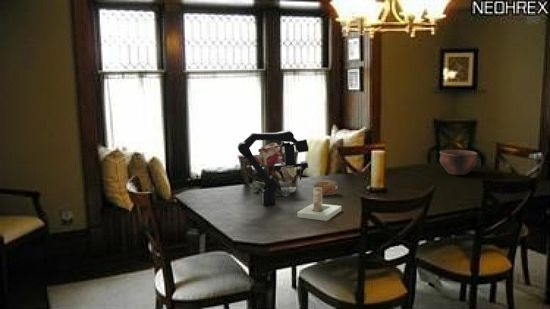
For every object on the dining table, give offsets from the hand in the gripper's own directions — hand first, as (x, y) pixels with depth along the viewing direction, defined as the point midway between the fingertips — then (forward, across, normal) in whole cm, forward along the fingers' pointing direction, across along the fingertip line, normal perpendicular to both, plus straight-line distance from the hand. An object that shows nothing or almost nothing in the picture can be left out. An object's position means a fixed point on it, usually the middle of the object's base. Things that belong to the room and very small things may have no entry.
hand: (292, 181), depth 293 cm
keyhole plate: (+12, -12, +24) cm, 30 cm away
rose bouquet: (+14, +10, -29) cm, 33 cm away
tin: (+15, -20, -17) cm, 30 cm away
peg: (+12, -11, +26) cm, 31 cm away
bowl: (+24, -115, -66) cm, 135 cm away
